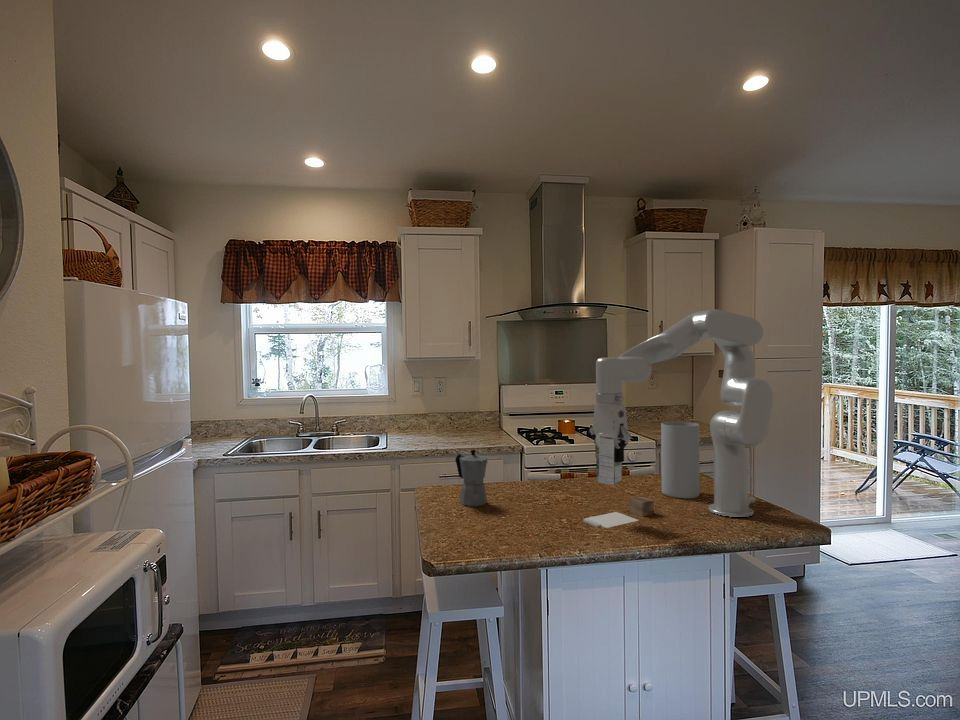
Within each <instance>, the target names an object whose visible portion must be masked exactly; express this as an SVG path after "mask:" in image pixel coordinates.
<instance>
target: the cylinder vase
mask: <svg viewBox="0 0 960 720" xmlns="http://www.w3.org/2000/svg"><path fill="white" fill-rule="evenodd" d="M660 427H661V428H660V433H661V434H660V436H661V437H660V442H661V445H660V446H661V449H660V450H661V451H660V452H661V454H660V455H661V457H660V458H661V459H660V460H661V462H660V463H661V493H662V494H663V495H665V496H667V497H670V498H675V499H681V498H682V499H683V500H684V499H685V500H688V499H690V498H691V499H696V498H699V496H700V494H701V492H700V491H701V487H700V486H701V485H700V482H701V481H700V480H701V479H700V477H701V476H700V468H701V467H700V424H699V423H696V422H687V421H664V422H661V423H660ZM691 499H690V500H691Z"/></svg>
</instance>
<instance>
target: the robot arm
mask: <svg viewBox="0 0 960 720" xmlns="http://www.w3.org/2000/svg"><path fill="white" fill-rule="evenodd" d="M763 336H764V328H763V325H762V324H761V323H760V321H758V320H757V319H756V318H753V317H750V316H746V315H742V314H738V313H734V312H731V311H725V310H721V309H713V308H712V309H706V310H700V311H694V312H693V313H690V314H688V315H687V316H685V317H684V318H681V320H679V321H678V322H676V323H675V324H673V325H671V326H670V327H669V328H667V329H666V330H664V331H663V332H661V333H659V334H657V335H655V336H652V337H651V338H648V339H647V340H644V341H642V342H640V343H638V344H637V345H635V346H633V347H631V348H629V349H628V350H626V351H625V352H623V353H622V354H619V356H617V357H600V358H597V360H596V362H595V393H596V394H595V397H596V399H595V405H594V408H593V409H594V410H593V411H594V412H593V420H592V421H593V422H592V424H593V425H592V426H591V427H590V428H589V429H588V430H589V433H590V435H591V438H592V440H593V444H594V445H596V436H597V434H599V433H601V434H608V435H609V436H610V437H611V438H612V439H614V440H615V446H616V448H614V461H615V462H622V463H623V462H624V461H625V449H626V447H627V445H628V443H629V441H630V440H631V438H632V435H631V434H630V432H629V429H628V417H627V410H626V405H625V404H623V401H624V400H625V398H624V396H623V382H630V383H641V382H644V381H646V380H648V378H649V377H651V373H652V365H653V364H655V363H660V362H663V361H668V360H672V359H674V358H677V357H680V355H682V354H683V353H685V352H686V351H688V350H690V349H691V348H693V346H695V345H697V344H698V343H700V342H702V341H703V340H705V339H712V340H713V342H714V343H715V344H716V345H717V347H718V348H719V350H720V351H721V353H722V355H723V357H724V366H723V367H724V368H723V374H722V380H721V381H722V382H721V387H720V400H721V402H722V403H723V404H725V405H726V406H729V407H734V408H740V411H736V410H735V411H734V410H721V411H718V412H716V413H715V414H714V415H713V416H712V417H711V420H710V422H709V431H710V436H711V441H712V445H713V446H712V449H713V503H711V504H709V505H708V511H709V512H710V513H712V514H714V513H715V514H714V515H717V514H718V516H720V515H722V516H721V517H725V516H729V517H728V518H731V517H748V518H750V517H749V516H752V515H753V514H755V512H754V510H753V509H752V508H751V507H750V506H749V505H751V504H754V503H756V498H755V497H754V496H749V493H748V492H749V490H748V489H749V483H748V482H749V481H748V479H749V477H748V476H749V475H748V474H749V473H748V470H749V469H748V462H749V460H748V459H749V458H748V452H747V449H746V447H745V446H748V447H757V446H759V445H761V444H762V443H764V441H765V440H766V438H767V436H768V433H769V429H770V423H771V417H772V411H773V403H774V393H773V388H772V387H771V384H770V383H769V382H768V381H767V380H765V379H763V378H759V377H755V371H756V370H755V369H756V358H755V356H754V353H753V351H752V348H750V347H753V346H755V345H757V344H758V343H760V341H762V338H763ZM618 440H619V441H620V443H619V442H618ZM753 516H754V515H753ZM753 516H752V517H753Z"/></svg>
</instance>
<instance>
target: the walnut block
mask: <svg viewBox="0 0 960 720" xmlns="http://www.w3.org/2000/svg"><path fill="white" fill-rule="evenodd" d="M629 513H632V514H634V515H637V516H640V517H646V516H650V515H654V514H655V500H654V499H650V498H648V497H644V496H637V497H633V498H629Z"/></svg>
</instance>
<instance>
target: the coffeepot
mask: <svg viewBox="0 0 960 720" xmlns="http://www.w3.org/2000/svg"><path fill="white" fill-rule="evenodd" d="M476 451H477V450H476V449H474V448H473V449H471V450H470V453H471V454H470V455H469V454H468V455H467V454H462V453H458V454H457V456H455V464H456V468H457V472H458V477H459V478H461V479H463V483H462V487H461V492H460V493H461V494H460V500H459V503H460V502H461V503H462V504H463V505H462V504H461V503H460V504H461V505H462V506H465V505H467V506H466V507H481V506H484V505H486V504H487V503H488V498H487V492H486V486H485V483H484V478H485V477H486V470H487V464H488V462H489V461H488V457H485V456H482V455H478V454H476Z"/></svg>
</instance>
